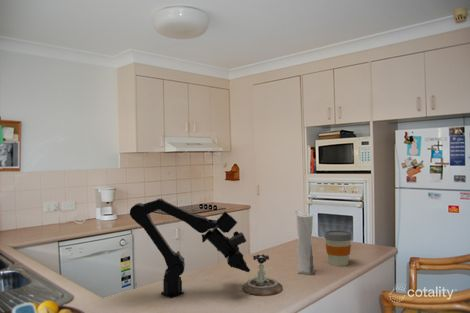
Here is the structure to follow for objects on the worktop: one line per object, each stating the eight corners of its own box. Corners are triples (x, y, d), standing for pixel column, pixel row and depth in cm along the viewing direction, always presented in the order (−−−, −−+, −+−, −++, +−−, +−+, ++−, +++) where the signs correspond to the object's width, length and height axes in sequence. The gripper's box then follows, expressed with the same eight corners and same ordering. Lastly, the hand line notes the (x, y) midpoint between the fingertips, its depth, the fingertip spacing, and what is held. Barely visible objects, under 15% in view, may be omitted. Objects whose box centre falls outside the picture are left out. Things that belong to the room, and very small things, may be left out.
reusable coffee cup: (342, 268, 177) (341, 236, 177) (320, 263, 187) (319, 232, 187) (356, 263, 185) (356, 232, 185) (334, 258, 195) (334, 229, 195)
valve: (265, 282, 156) (264, 253, 156) (272, 287, 150) (272, 257, 150) (250, 285, 154) (250, 255, 154) (257, 290, 148) (257, 259, 148)
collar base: (264, 299, 141) (264, 292, 141) (234, 289, 152) (234, 282, 152) (290, 288, 152) (290, 281, 152) (260, 279, 164) (260, 273, 164)
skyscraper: (294, 273, 171) (293, 211, 171) (298, 268, 179) (296, 209, 179) (313, 275, 168) (312, 212, 168) (316, 270, 176) (315, 209, 176)
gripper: (236, 230, 142) (266, 259, 143) (231, 222, 160) (257, 247, 161) (215, 252, 141) (245, 281, 142) (212, 241, 159) (239, 267, 161)
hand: (247, 267), depth 152 cm, fingers open, 9 cm apart
